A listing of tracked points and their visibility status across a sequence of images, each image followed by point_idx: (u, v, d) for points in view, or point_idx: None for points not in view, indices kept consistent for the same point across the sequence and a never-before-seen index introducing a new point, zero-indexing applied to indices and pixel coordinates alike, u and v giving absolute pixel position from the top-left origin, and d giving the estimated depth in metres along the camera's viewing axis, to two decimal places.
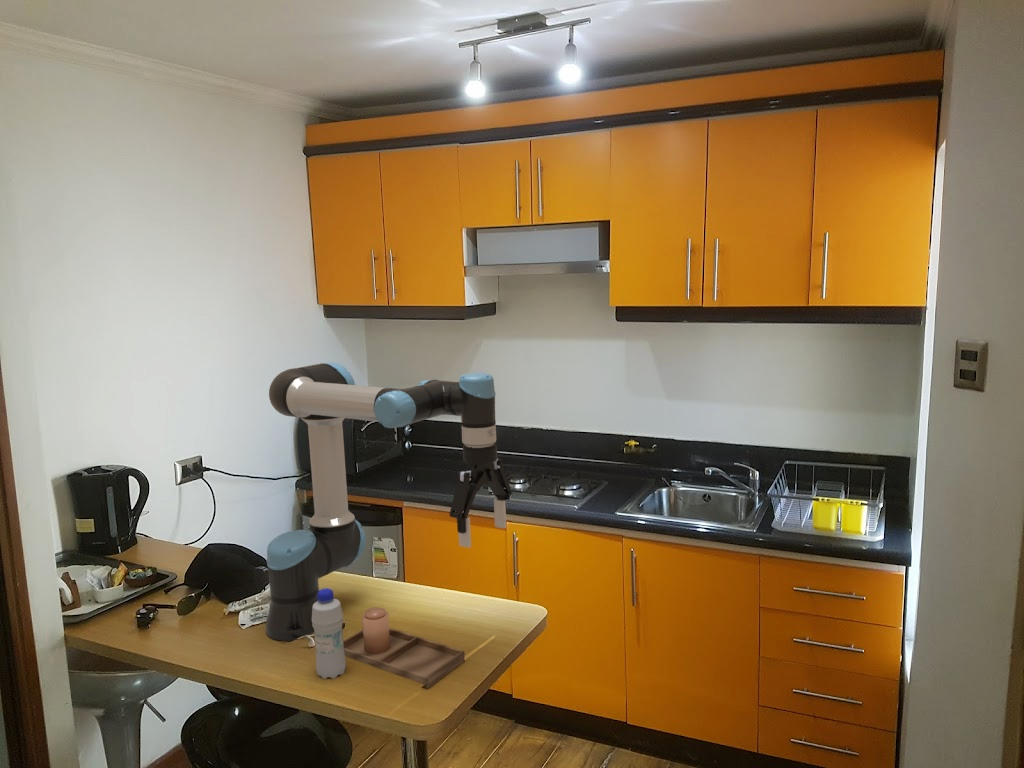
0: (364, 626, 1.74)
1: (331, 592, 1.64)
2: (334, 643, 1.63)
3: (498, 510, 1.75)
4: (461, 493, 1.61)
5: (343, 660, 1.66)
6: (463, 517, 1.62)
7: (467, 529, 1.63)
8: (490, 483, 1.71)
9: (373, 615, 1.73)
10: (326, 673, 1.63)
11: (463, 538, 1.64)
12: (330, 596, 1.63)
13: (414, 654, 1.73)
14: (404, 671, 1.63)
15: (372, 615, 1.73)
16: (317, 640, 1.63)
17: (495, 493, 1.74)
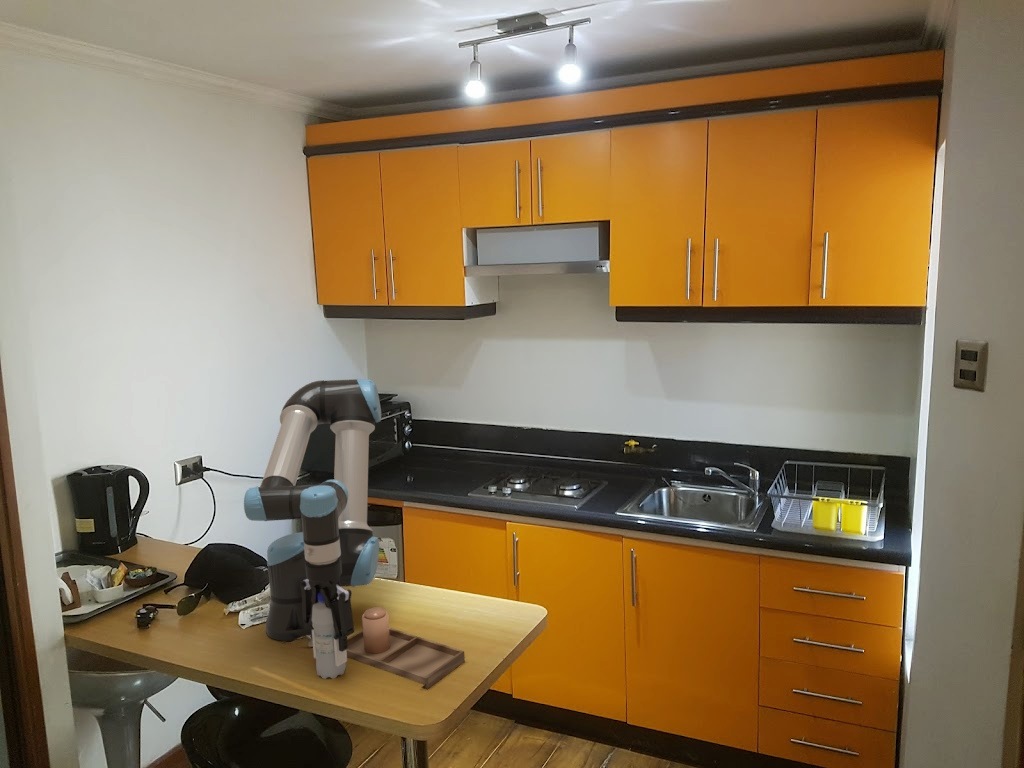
0: (364, 626, 1.74)
1: None
2: None
3: None
4: None
5: None
6: None
7: None
8: None
9: (373, 615, 1.73)
10: (326, 673, 1.63)
11: None
12: None
13: (414, 654, 1.73)
14: (404, 671, 1.63)
15: (372, 615, 1.73)
16: (317, 640, 1.63)
17: None
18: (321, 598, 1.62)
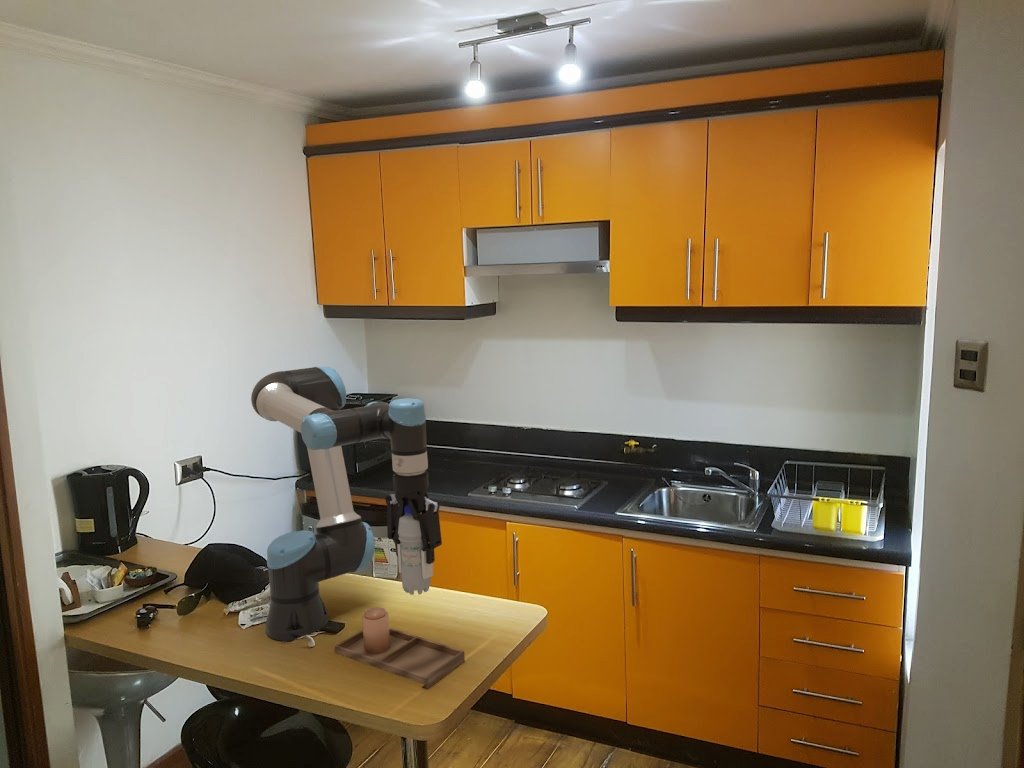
0: (364, 626, 1.74)
1: None
2: None
3: None
4: None
5: None
6: None
7: None
8: None
9: (373, 615, 1.73)
10: (413, 586, 1.63)
11: None
12: None
13: (414, 654, 1.73)
14: (404, 671, 1.63)
15: (372, 615, 1.73)
16: (404, 553, 1.63)
17: None
18: (408, 510, 1.62)
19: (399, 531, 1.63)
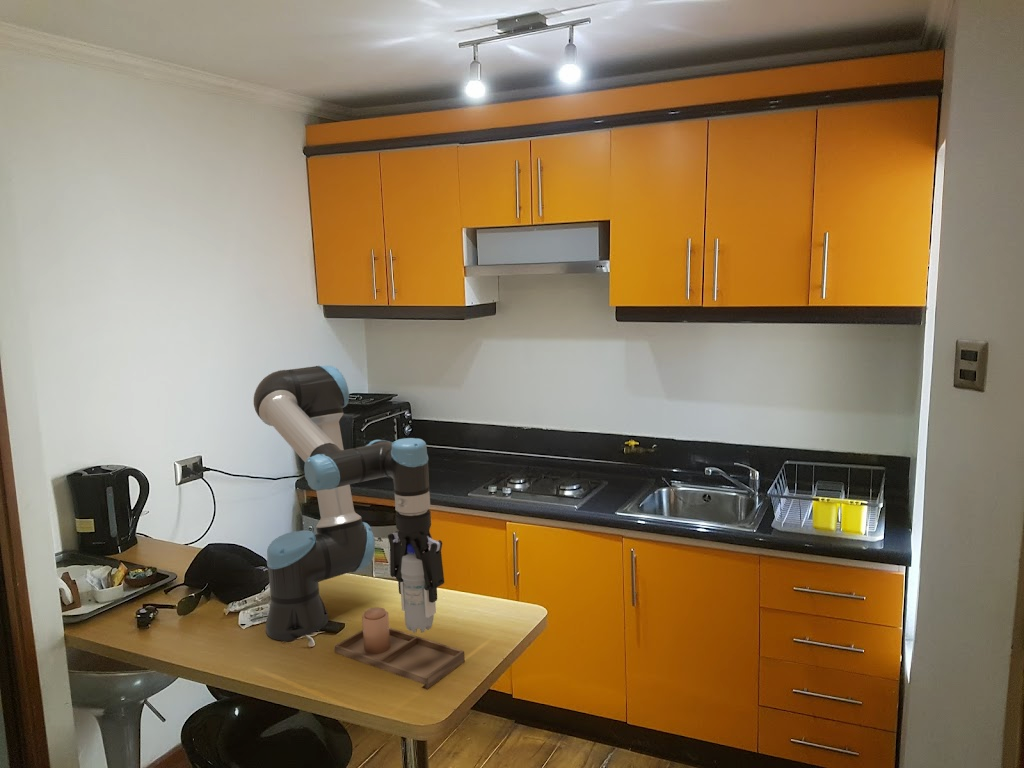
0: (364, 626, 1.74)
1: None
2: (423, 595, 1.64)
3: None
4: None
5: None
6: None
7: None
8: None
9: (373, 615, 1.73)
10: (416, 624, 1.64)
11: None
12: None
13: (414, 654, 1.73)
14: (404, 671, 1.63)
15: (372, 615, 1.73)
16: (407, 591, 1.64)
17: None
18: (411, 549, 1.63)
19: (402, 570, 1.64)
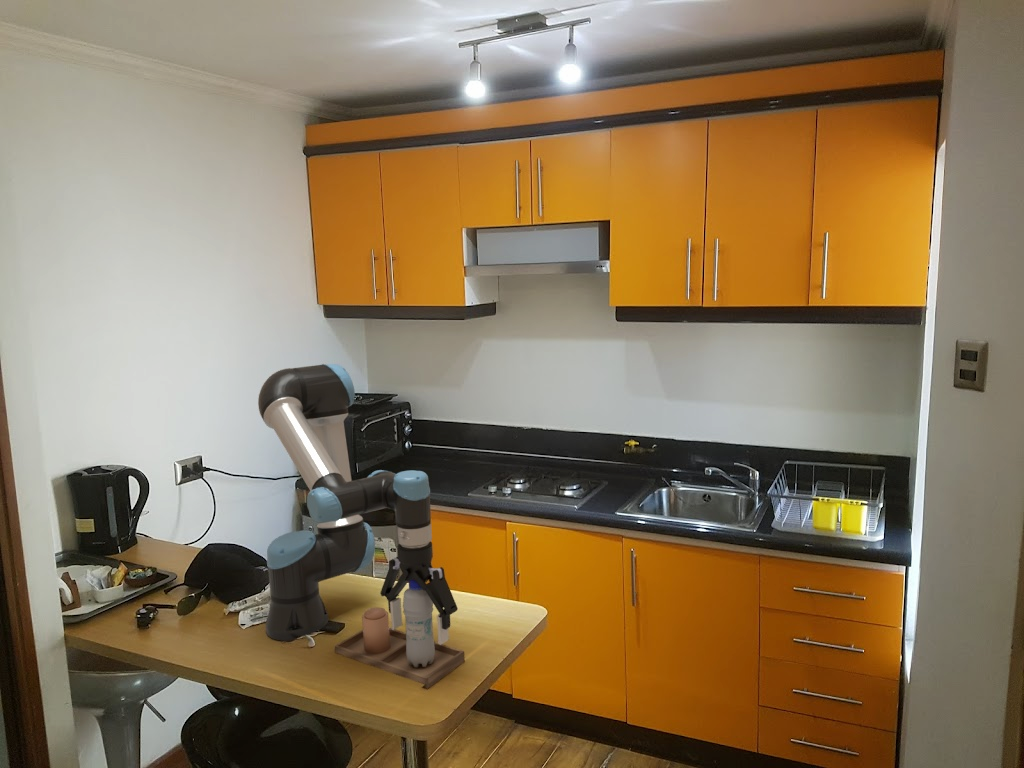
0: (364, 626, 1.74)
1: None
2: (425, 630, 1.65)
3: None
4: None
5: (433, 647, 1.68)
6: None
7: None
8: None
9: (373, 615, 1.73)
10: (417, 659, 1.66)
11: None
12: None
13: None
14: (404, 671, 1.63)
15: (372, 615, 1.73)
16: (409, 627, 1.66)
17: None
18: (413, 585, 1.65)
19: (404, 605, 1.66)
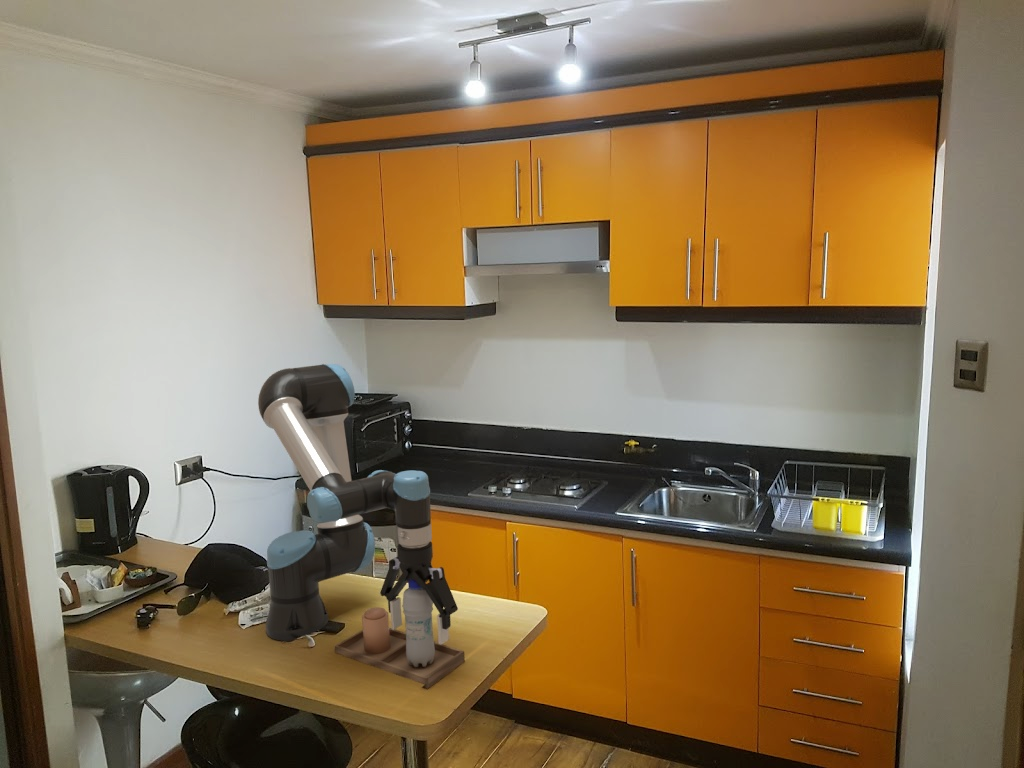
0: (364, 626, 1.74)
1: None
2: (425, 630, 1.66)
3: None
4: None
5: (433, 646, 1.68)
6: None
7: None
8: None
9: (373, 615, 1.73)
10: (417, 659, 1.66)
11: None
12: None
13: None
14: (404, 671, 1.63)
15: (372, 615, 1.73)
16: (408, 626, 1.66)
17: None
18: (412, 585, 1.65)
19: (403, 605, 1.66)
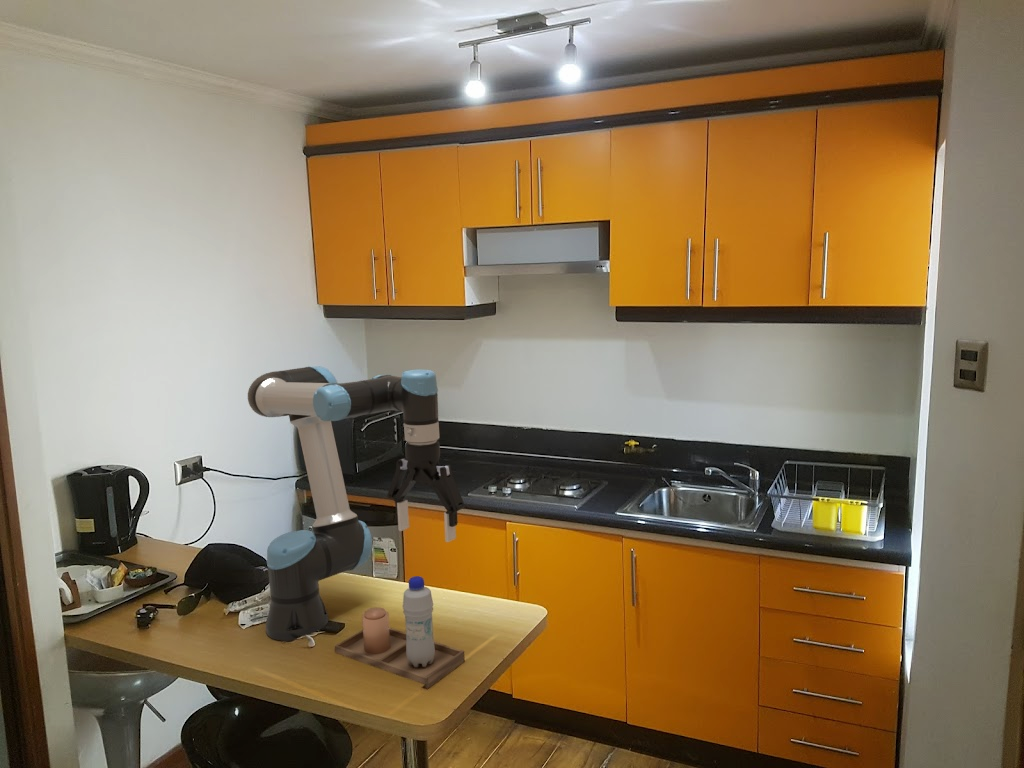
0: (364, 626, 1.74)
1: (422, 580, 1.66)
2: (425, 630, 1.65)
3: None
4: None
5: (433, 647, 1.68)
6: None
7: None
8: None
9: (373, 615, 1.73)
10: (417, 659, 1.66)
11: None
12: (421, 584, 1.65)
13: None
14: (404, 671, 1.63)
15: (372, 615, 1.73)
16: (409, 627, 1.65)
17: None
18: (413, 585, 1.65)
19: (404, 605, 1.66)
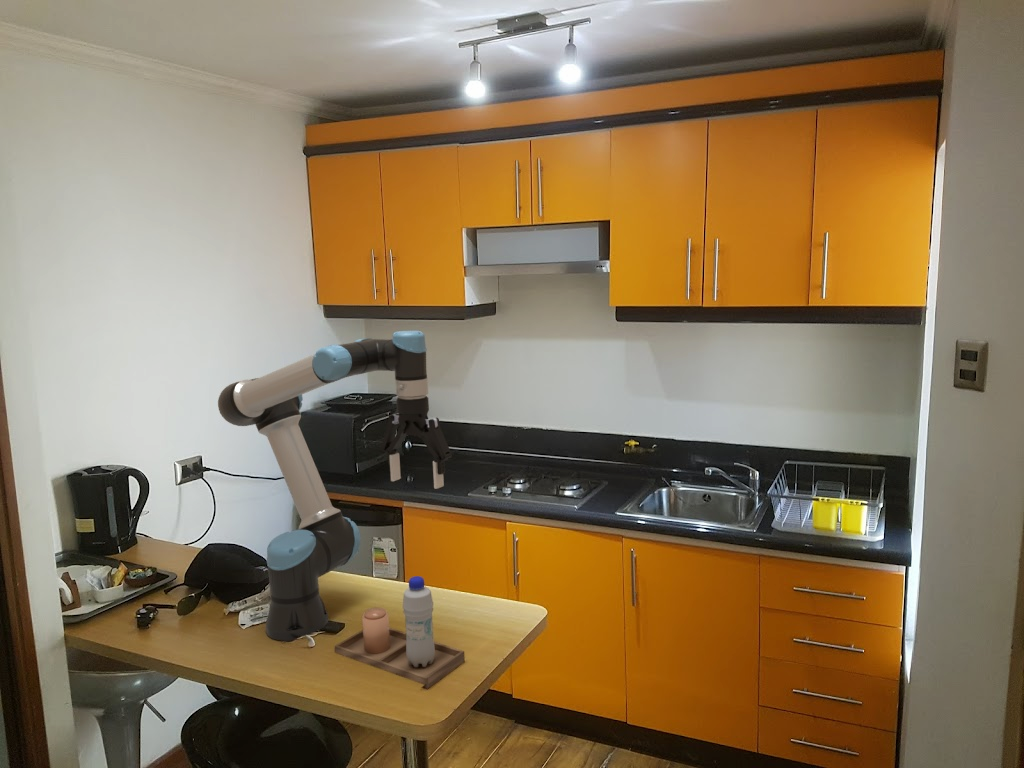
0: (364, 626, 1.74)
1: (422, 580, 1.66)
2: (425, 630, 1.65)
3: None
4: None
5: (433, 647, 1.68)
6: None
7: None
8: None
9: (373, 615, 1.73)
10: (417, 659, 1.66)
11: None
12: (422, 584, 1.65)
13: None
14: (404, 671, 1.63)
15: (372, 615, 1.73)
16: (409, 627, 1.65)
17: None
18: (413, 585, 1.65)
19: (404, 605, 1.66)
